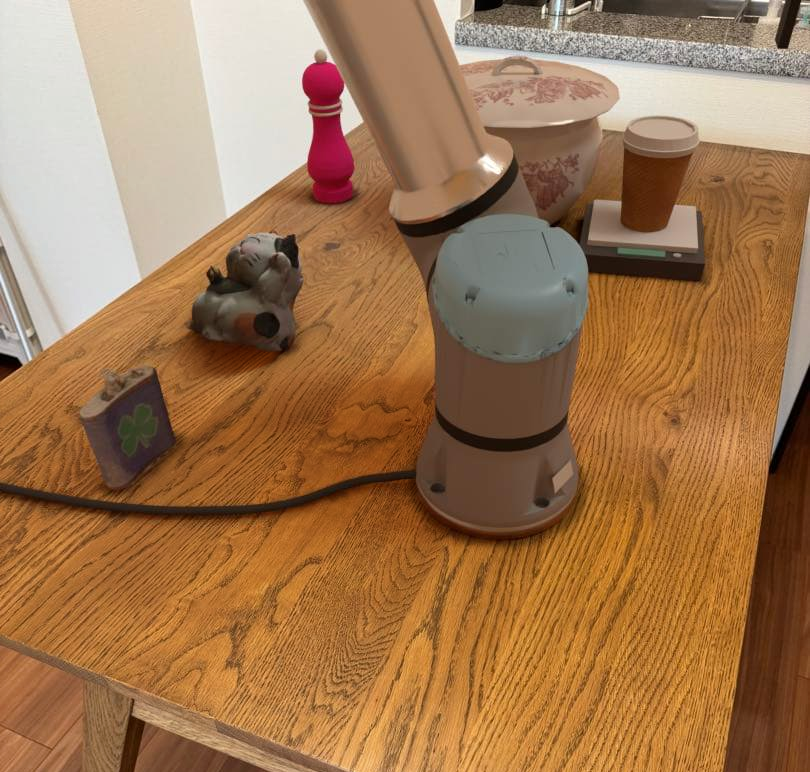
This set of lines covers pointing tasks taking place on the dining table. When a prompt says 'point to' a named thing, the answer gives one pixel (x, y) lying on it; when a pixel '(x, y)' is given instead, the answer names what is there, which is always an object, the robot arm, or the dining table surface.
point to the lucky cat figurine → (252, 294)
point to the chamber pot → (544, 123)
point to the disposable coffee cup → (654, 169)
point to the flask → (127, 425)
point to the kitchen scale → (643, 244)
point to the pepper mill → (327, 133)
